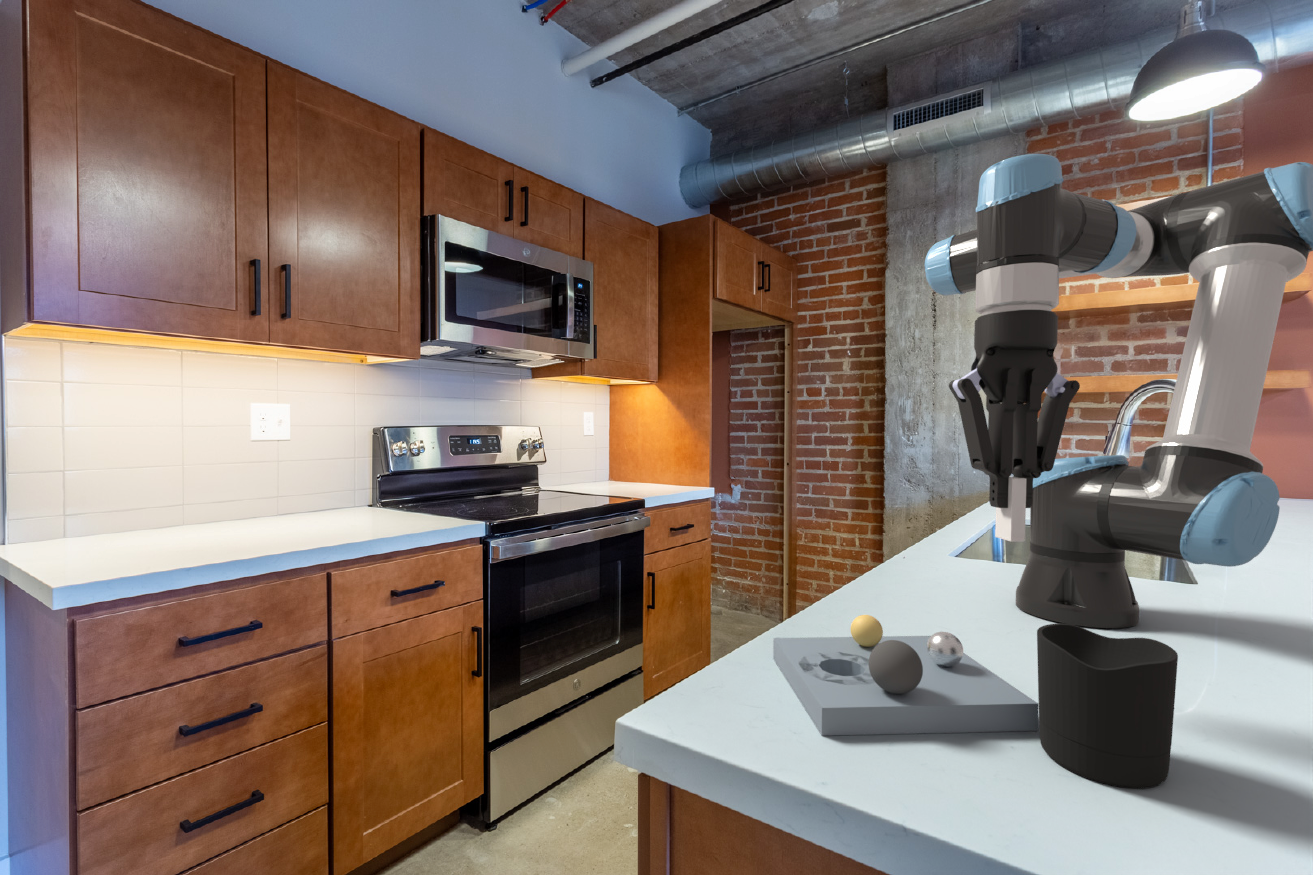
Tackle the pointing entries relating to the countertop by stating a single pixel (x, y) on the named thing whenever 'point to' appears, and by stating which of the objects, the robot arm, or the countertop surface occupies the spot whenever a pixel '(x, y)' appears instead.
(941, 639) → the steel ball
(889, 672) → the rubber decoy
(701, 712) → the countertop surface
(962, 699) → the plate
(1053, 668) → the pen holder
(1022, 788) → the countertop surface
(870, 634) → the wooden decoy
